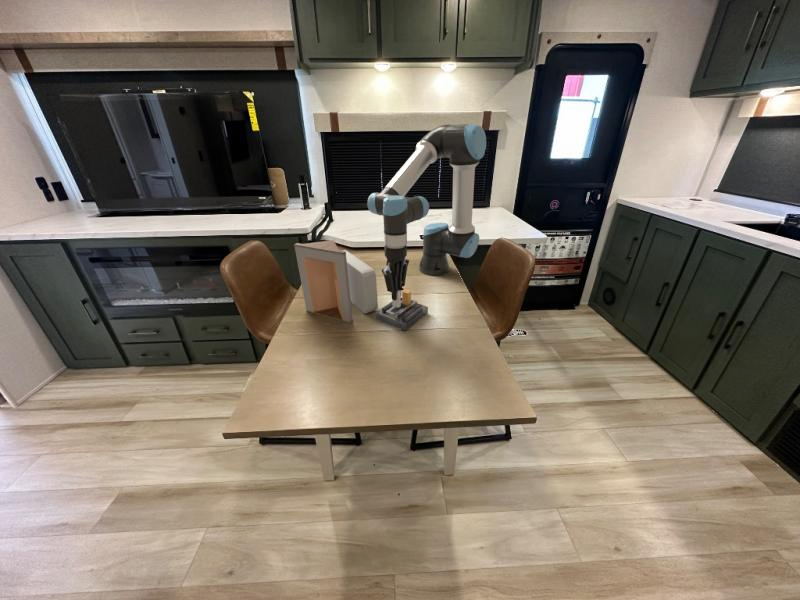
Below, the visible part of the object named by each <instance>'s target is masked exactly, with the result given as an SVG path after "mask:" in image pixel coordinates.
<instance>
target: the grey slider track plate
mask: <svg viewBox="0 0 800 600" xmlns="http://www.w3.org/2000/svg"><path fill="white" fill-rule="evenodd" d="M401 301H402V297H401ZM390 302H391V303H390ZM390 302H389V303H390V304H389V303H388V305H387V304H386V305H384V306H385V307H384V306H383V307H381V308H382V312H386V311H387V310H389V309H390V308H392V307H393V306H392V301H390ZM422 305H423V304H421V303H418V304H417V305H416V306H415V307H413V308H412V309H411V310H409V311H408V312H407V313H405V314H404V315H402V320H405V321H409V320H410V319H411V318H413V317H414V316H415V315H417V314H418V313H419V312H420V311H422V310H423V307H422Z"/></svg>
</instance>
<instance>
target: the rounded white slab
mask: <svg viewBox="0 0 800 600" xmlns="http://www.w3.org/2000/svg"><path fill="white" fill-rule="evenodd" d="M342 251H346V259H347V269H348V278H349V288H350V298H351V304H352V305H354V306H355V307H356V308H357V309H358V310H359V311H361V312H362V313H363V314H369V313H372V312H374V311H375V312H376V311H378V310H377V309H378V291H377V289H378V287H377V275H376V274H377V273H376V272H375V270H374V269H373V268H372V267H371V266H369V265H368V264H367V263H366V262H364V261H362V260H361V259H359V258H358V257H357V256H355V255H354V254H352V253H351V252H349V251H348V250H345V249H344V250H342Z"/></svg>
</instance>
